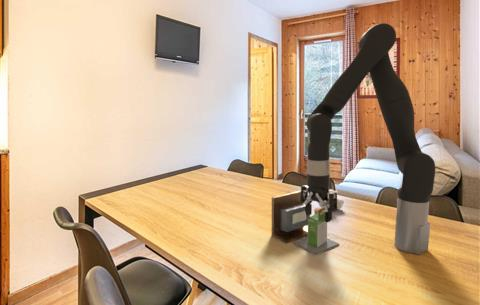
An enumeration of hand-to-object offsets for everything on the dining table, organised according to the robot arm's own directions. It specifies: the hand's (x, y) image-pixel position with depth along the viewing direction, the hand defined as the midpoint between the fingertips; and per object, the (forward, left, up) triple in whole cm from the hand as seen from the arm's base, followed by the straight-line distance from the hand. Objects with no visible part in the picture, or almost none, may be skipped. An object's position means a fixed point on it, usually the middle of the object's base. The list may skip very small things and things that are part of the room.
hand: (317, 218), depth 104 cm
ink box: (0, 0, -9) cm, 9 cm away
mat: (0, 0, -10) cm, 10 cm away
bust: (+21, -33, -10) cm, 40 cm away
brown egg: (+14, -18, -10) cm, 25 cm away
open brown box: (+11, 0, -10) cm, 15 cm away
